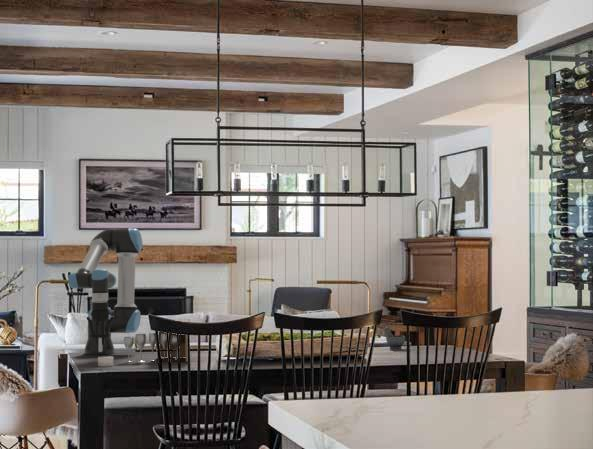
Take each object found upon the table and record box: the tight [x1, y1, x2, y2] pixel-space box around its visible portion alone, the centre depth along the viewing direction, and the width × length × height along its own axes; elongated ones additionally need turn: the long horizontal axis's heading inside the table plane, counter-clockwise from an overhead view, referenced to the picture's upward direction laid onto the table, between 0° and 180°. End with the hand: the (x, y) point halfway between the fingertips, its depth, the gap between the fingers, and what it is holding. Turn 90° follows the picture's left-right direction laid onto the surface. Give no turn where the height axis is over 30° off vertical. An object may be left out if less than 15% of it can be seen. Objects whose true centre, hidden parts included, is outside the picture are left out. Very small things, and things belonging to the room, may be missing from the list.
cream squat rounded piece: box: [97, 355, 115, 367], centre depth 440 cm, size 7×7×4 cm
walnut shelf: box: [159, 318, 191, 363], centre depth 456 cm, size 20×16×19 cm
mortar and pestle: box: [383, 326, 406, 351], centre depth 500 cm, size 11×9×12 cm
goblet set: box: [123, 332, 182, 363], centre depth 457 cm, size 28×6×13 cm, turn 110°
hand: (100, 351), depth 453 cm, fingers closed
